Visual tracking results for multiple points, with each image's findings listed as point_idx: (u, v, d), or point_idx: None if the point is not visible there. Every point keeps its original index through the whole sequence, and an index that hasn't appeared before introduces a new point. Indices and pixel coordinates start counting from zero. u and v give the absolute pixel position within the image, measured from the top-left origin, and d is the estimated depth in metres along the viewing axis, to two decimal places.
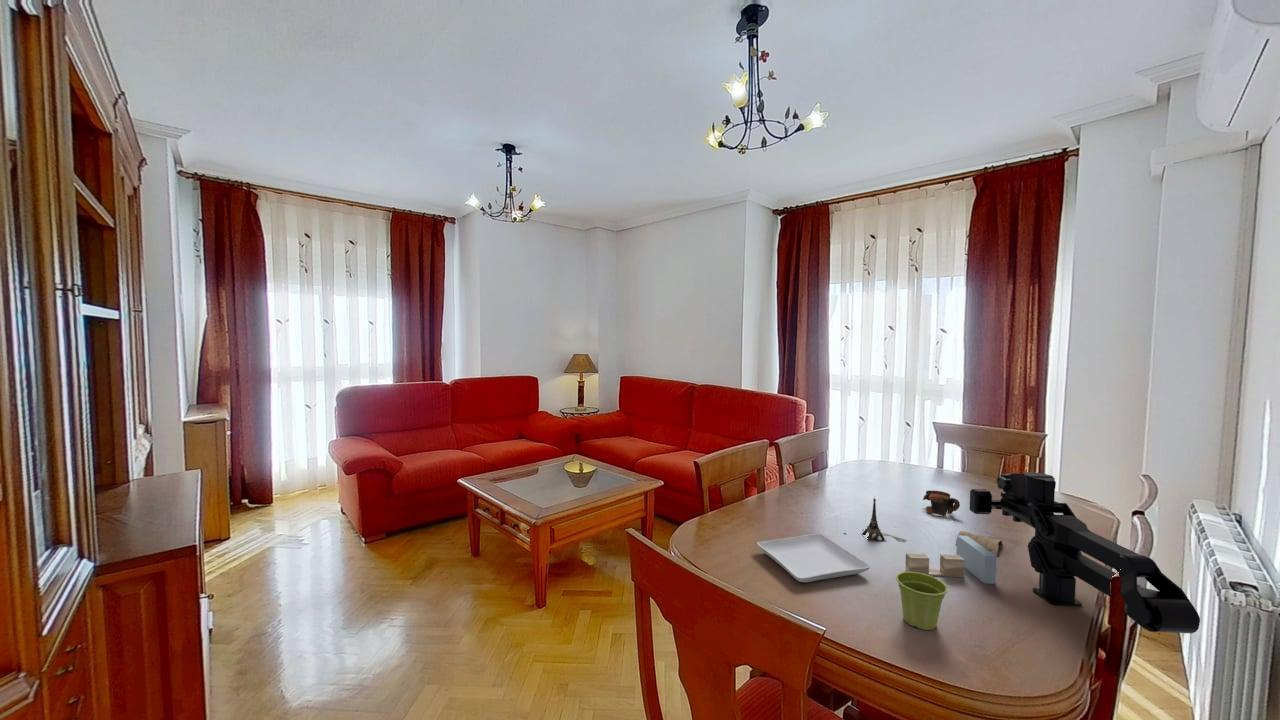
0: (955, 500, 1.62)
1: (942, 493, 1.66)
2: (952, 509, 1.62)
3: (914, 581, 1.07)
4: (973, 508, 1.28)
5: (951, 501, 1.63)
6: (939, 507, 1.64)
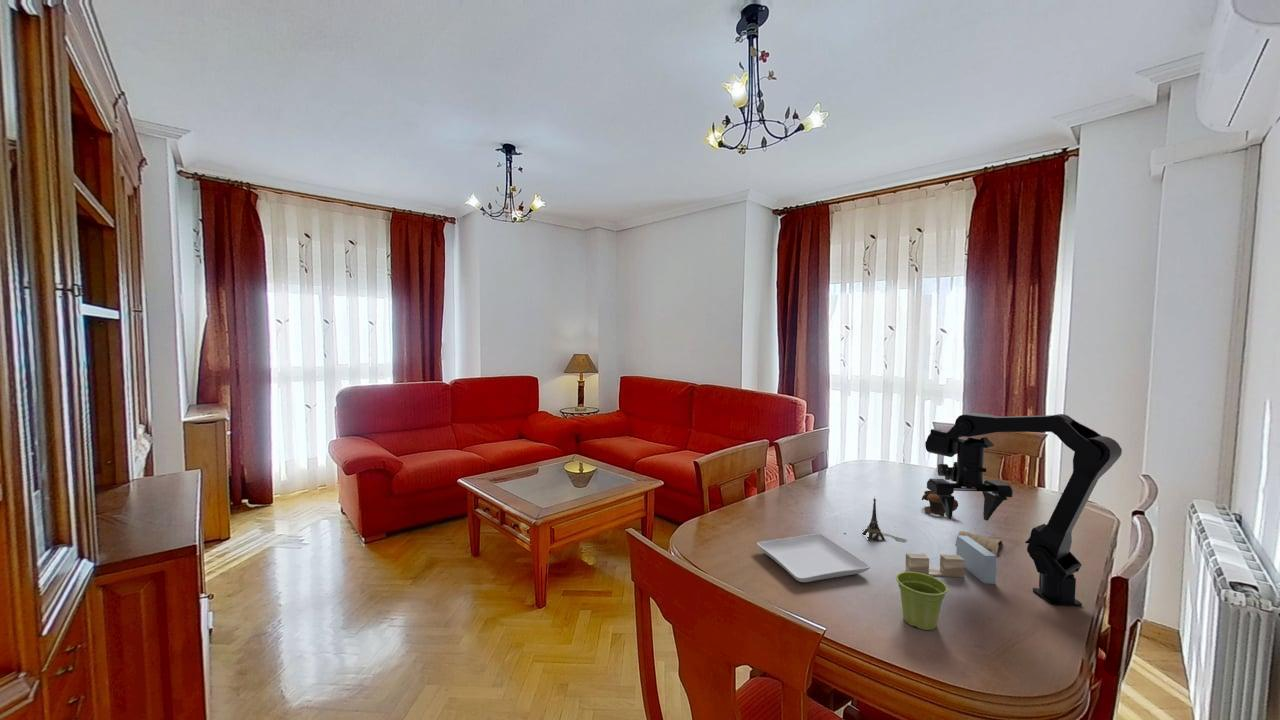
0: None
1: None
2: None
3: (914, 581, 1.07)
4: (935, 486, 1.27)
5: None
6: (938, 507, 1.64)
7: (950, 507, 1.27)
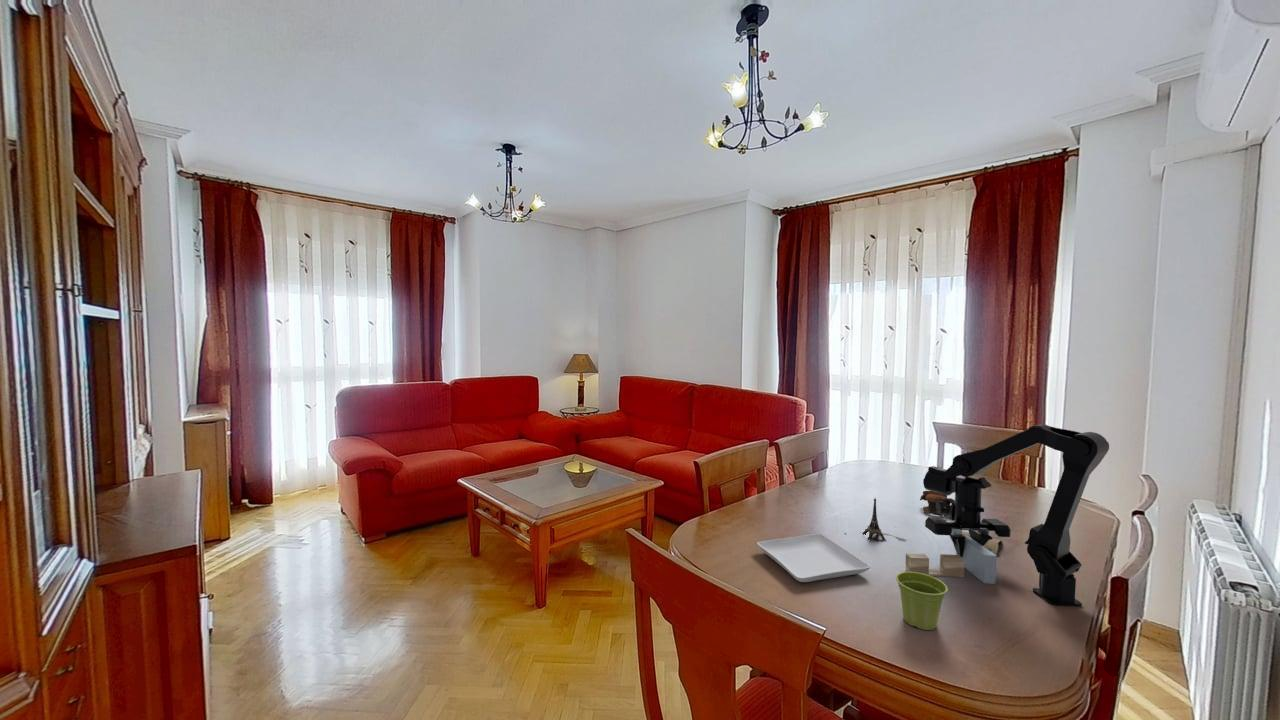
0: None
1: (939, 493, 1.66)
2: None
3: (914, 581, 1.07)
4: (933, 526, 1.27)
5: (948, 501, 1.63)
6: None
7: (961, 547, 1.27)
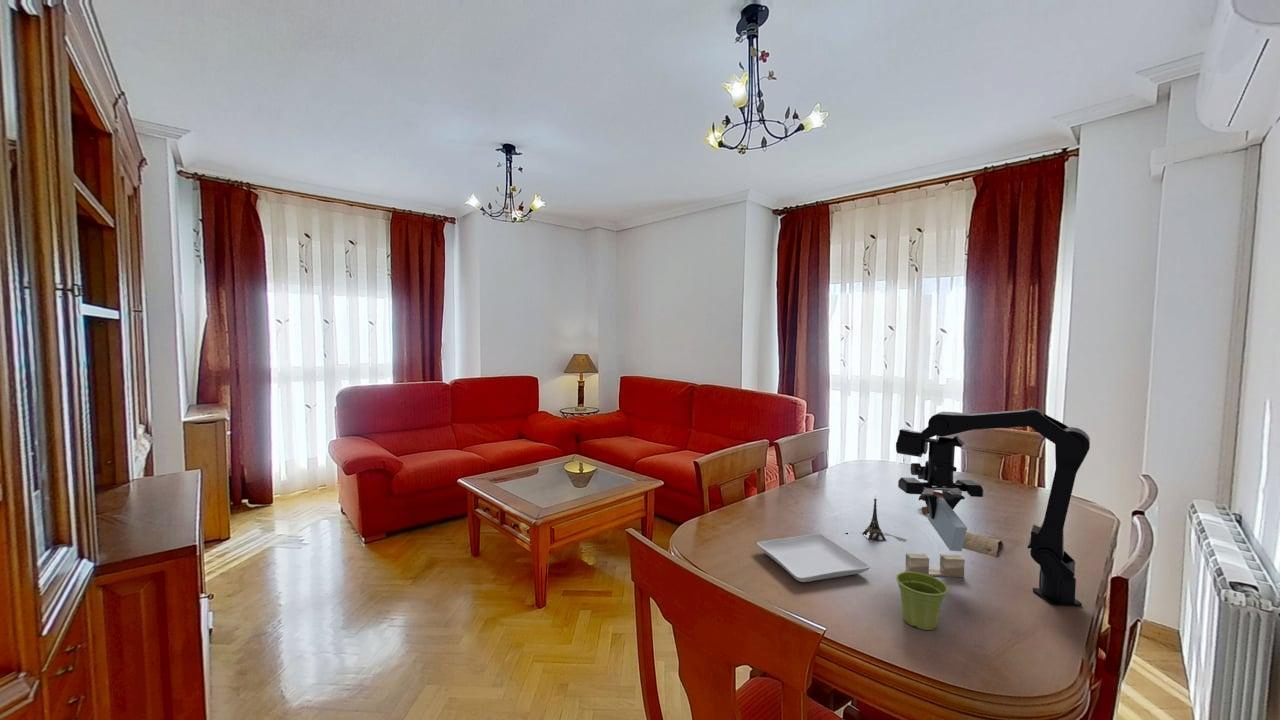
0: None
1: (937, 493, 1.66)
2: None
3: (914, 581, 1.07)
4: (905, 485, 1.27)
5: None
6: None
7: (933, 507, 1.26)
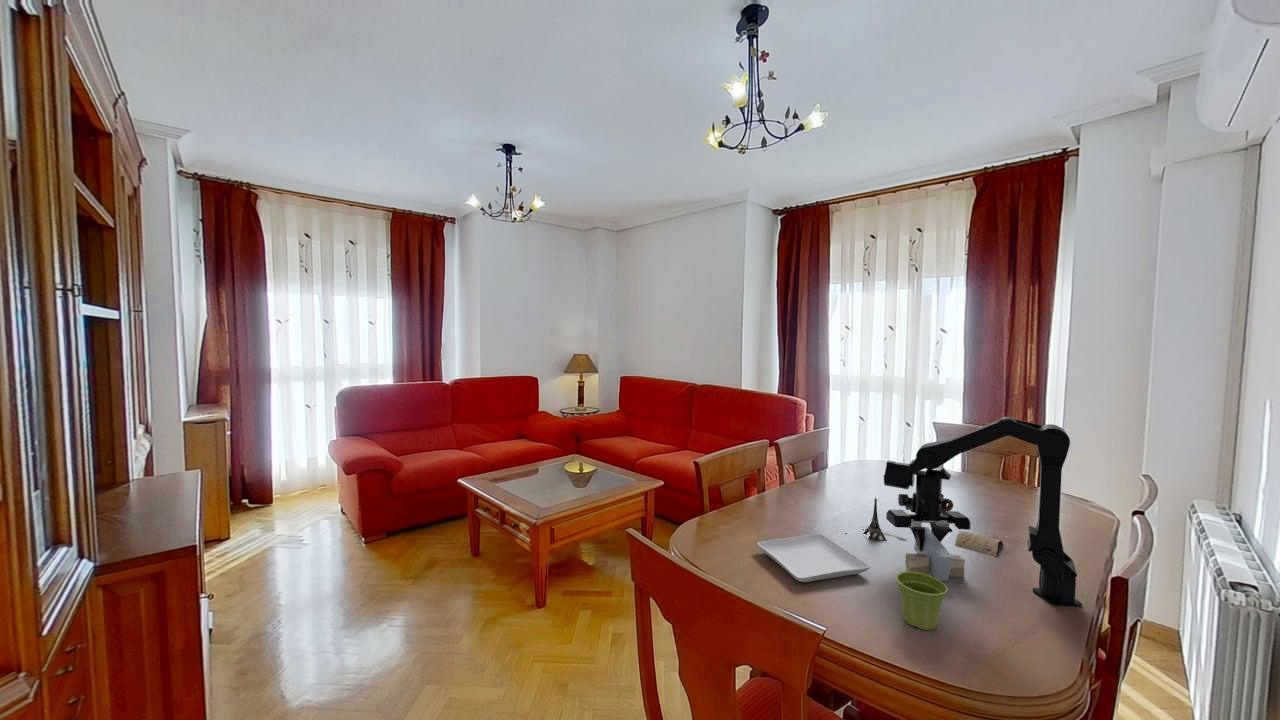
0: (949, 500, 1.62)
1: None
2: (946, 510, 1.61)
3: (914, 581, 1.07)
4: (893, 518, 1.26)
5: (945, 501, 1.63)
6: None
7: (921, 539, 1.26)
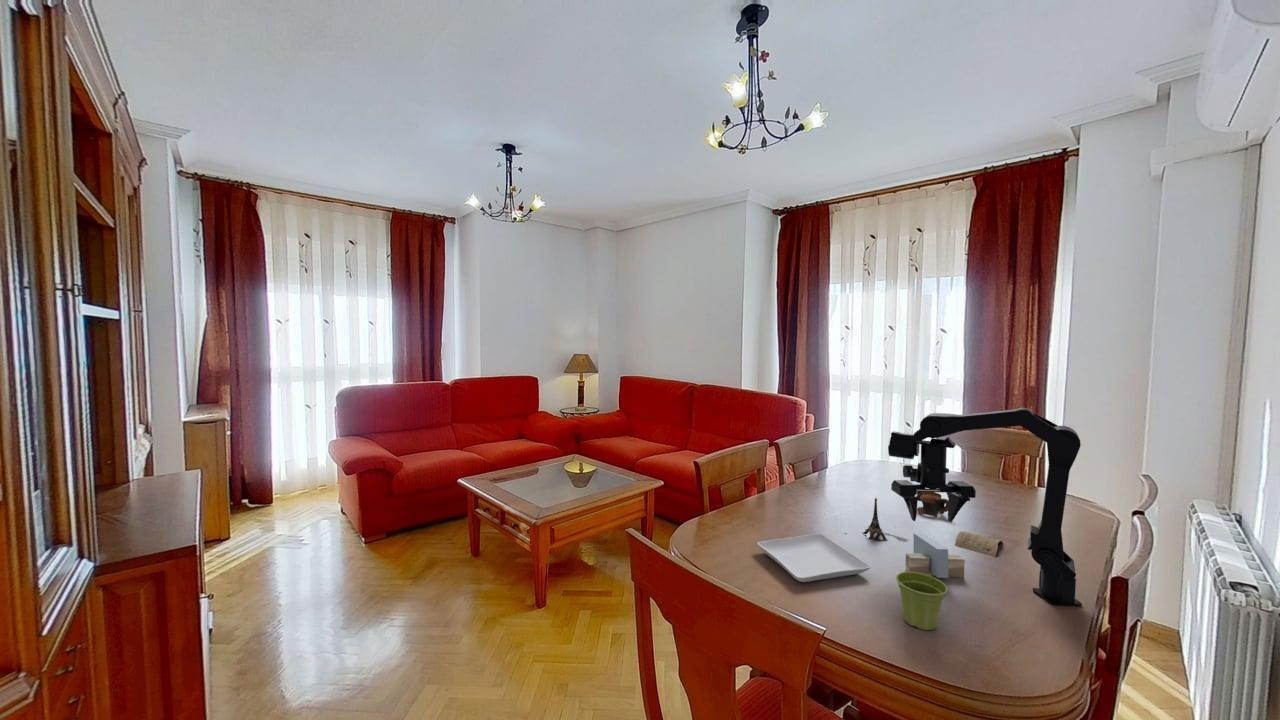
0: (946, 501, 1.61)
1: (933, 494, 1.65)
2: (943, 510, 1.61)
3: (914, 581, 1.07)
4: (898, 488, 1.26)
5: (942, 502, 1.63)
6: (931, 508, 1.63)
7: (914, 509, 1.26)
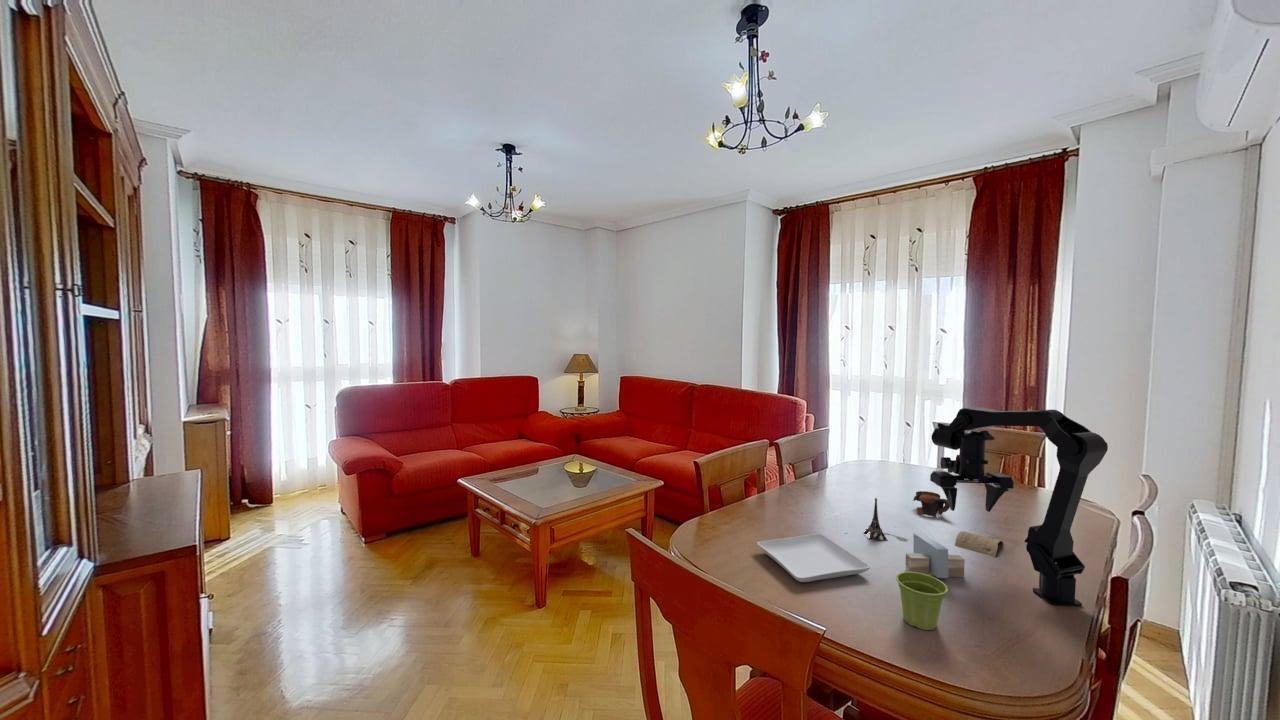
0: (945, 501, 1.61)
1: (932, 494, 1.65)
2: (942, 510, 1.61)
3: (914, 581, 1.07)
4: (938, 479, 1.31)
5: (941, 502, 1.62)
6: (930, 508, 1.63)
7: (953, 499, 1.30)
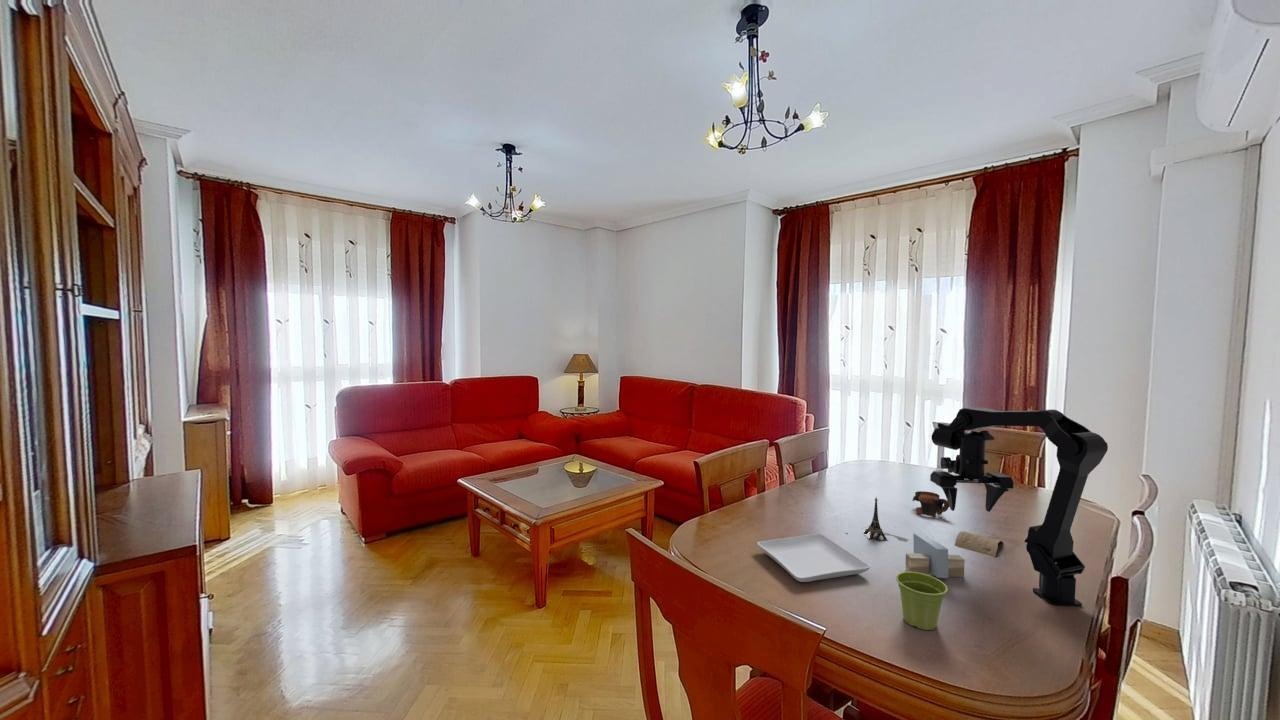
0: (945, 501, 1.61)
1: (931, 494, 1.65)
2: (942, 510, 1.61)
3: (914, 581, 1.07)
4: (938, 479, 1.31)
5: (941, 502, 1.62)
6: (929, 508, 1.63)
7: (953, 499, 1.30)
